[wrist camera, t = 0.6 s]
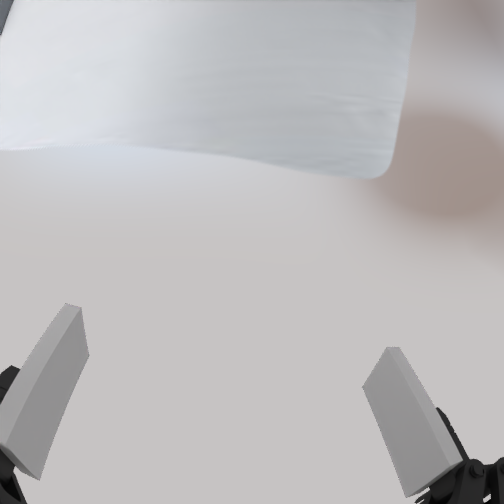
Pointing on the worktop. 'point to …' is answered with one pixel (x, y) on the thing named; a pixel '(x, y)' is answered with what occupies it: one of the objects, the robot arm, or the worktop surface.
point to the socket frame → (4, 12)
